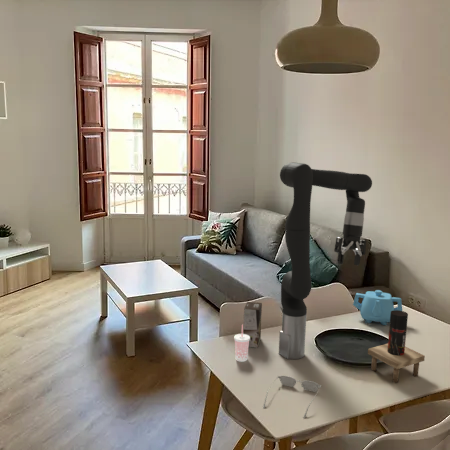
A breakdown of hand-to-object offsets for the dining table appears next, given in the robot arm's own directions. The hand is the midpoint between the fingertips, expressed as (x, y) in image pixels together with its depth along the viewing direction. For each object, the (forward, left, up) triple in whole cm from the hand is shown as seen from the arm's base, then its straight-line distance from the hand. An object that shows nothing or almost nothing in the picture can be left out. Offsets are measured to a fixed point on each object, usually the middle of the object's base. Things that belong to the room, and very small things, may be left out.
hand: (348, 264), depth 212 cm
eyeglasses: (-45, -25, -35) cm, 63 cm away
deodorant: (0, -27, -27) cm, 38 cm away
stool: (0, -27, -35) cm, 44 cm away
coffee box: (-32, +20, -35) cm, 51 cm away
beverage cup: (-44, +9, -35) cm, 56 cm away
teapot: (+32, +13, -35) cm, 49 cm away
